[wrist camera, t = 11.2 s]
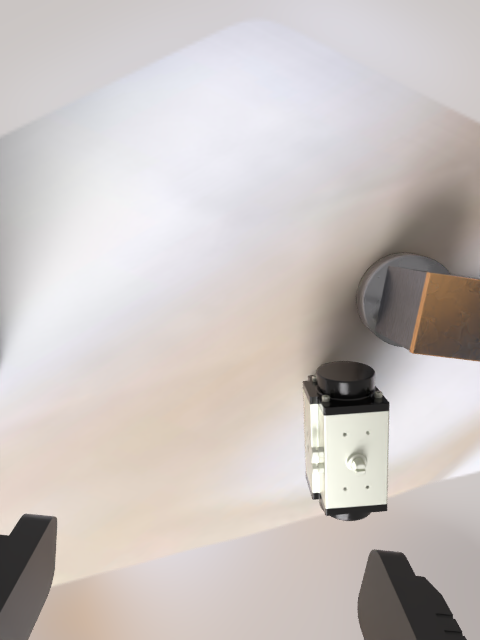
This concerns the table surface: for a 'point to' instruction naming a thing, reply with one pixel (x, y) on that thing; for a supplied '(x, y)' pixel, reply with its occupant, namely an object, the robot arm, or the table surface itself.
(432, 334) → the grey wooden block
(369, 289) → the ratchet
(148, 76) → the table surface
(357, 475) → the pneumatic valve
